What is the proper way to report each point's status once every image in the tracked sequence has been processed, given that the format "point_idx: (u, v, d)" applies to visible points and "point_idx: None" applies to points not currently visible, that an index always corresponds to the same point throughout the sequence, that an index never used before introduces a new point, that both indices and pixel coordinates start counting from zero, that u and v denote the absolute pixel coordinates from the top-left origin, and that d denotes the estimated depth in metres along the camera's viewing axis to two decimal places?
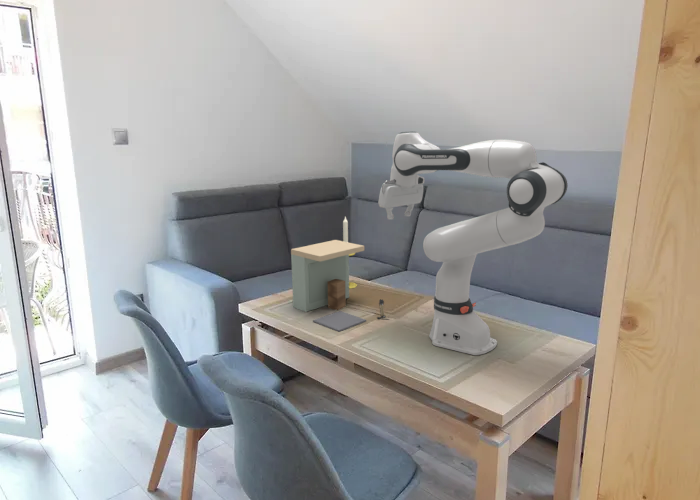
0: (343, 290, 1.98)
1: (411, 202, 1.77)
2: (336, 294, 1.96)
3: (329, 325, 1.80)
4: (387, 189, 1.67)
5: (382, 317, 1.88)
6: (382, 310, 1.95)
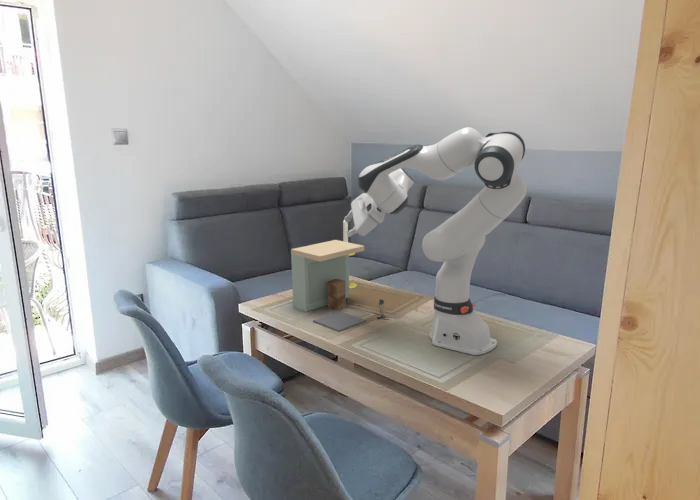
0: (343, 290, 1.98)
1: (355, 221, 1.76)
2: (336, 294, 1.96)
3: (329, 325, 1.80)
4: None
5: (382, 317, 1.88)
6: (382, 310, 1.95)
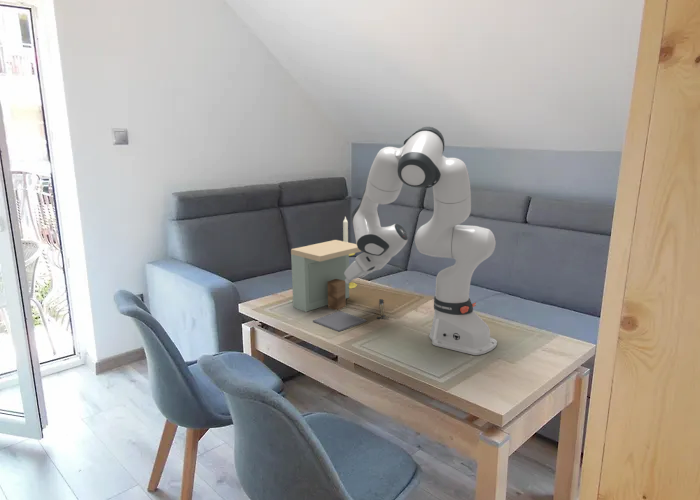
0: (343, 290, 1.98)
1: None
2: (336, 294, 1.96)
3: (329, 325, 1.80)
4: None
5: (382, 317, 1.89)
6: (382, 310, 1.95)
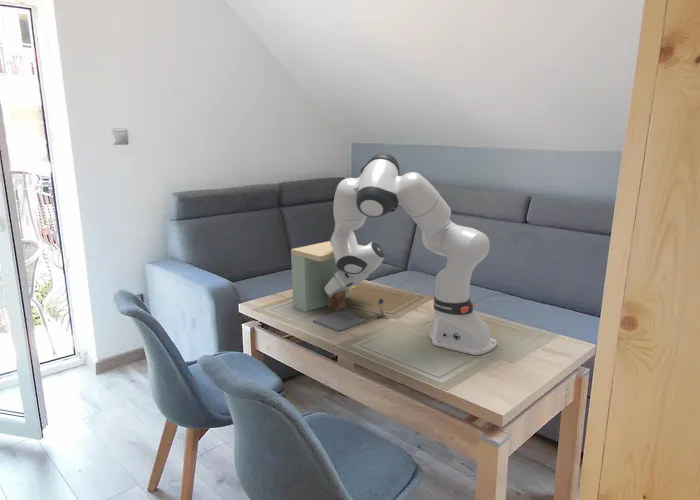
0: (343, 290, 1.98)
1: None
2: (336, 294, 1.96)
3: (329, 325, 1.80)
4: None
5: (382, 316, 1.89)
6: (382, 309, 1.96)
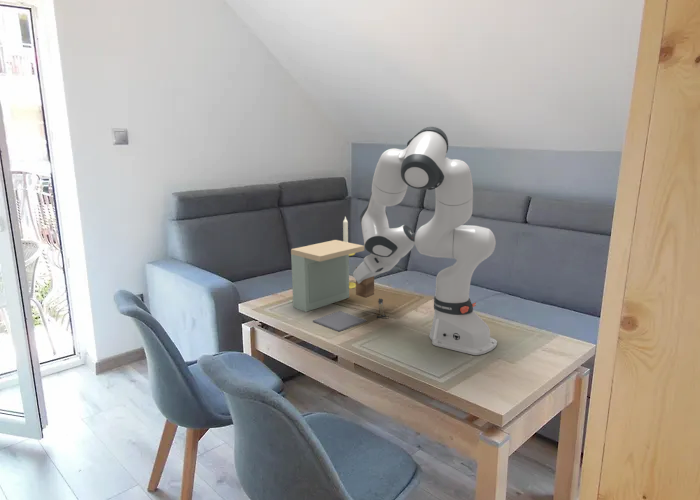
0: (372, 277, 1.89)
1: None
2: (365, 280, 1.87)
3: (329, 325, 1.80)
4: None
5: (382, 316, 1.89)
6: (381, 309, 1.96)
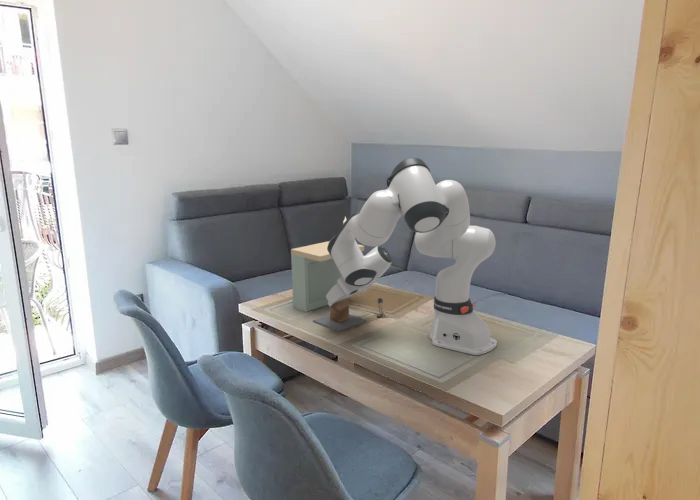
0: (346, 301, 1.83)
1: None
2: (339, 306, 1.80)
3: (329, 325, 1.80)
4: None
5: (381, 316, 1.90)
6: (381, 309, 1.97)
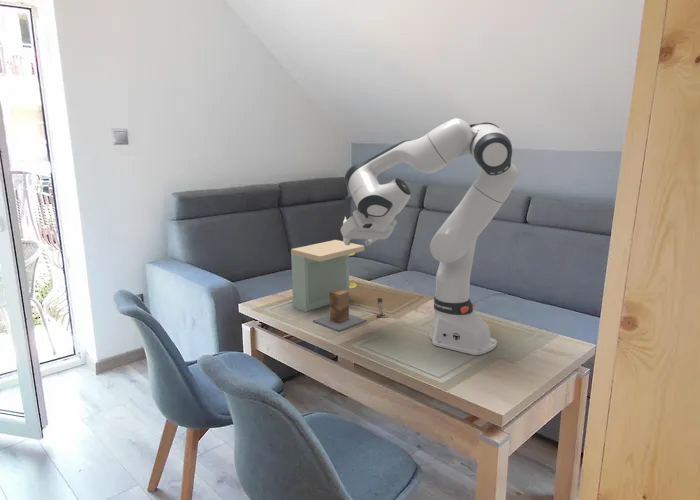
0: (346, 301, 1.83)
1: None
2: (339, 306, 1.80)
3: (329, 325, 1.80)
4: None
5: (381, 315, 1.90)
6: (381, 308, 1.97)
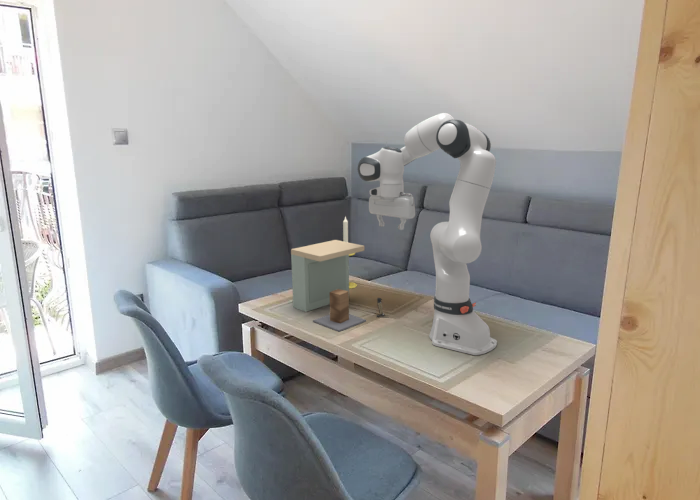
0: (346, 301, 1.83)
1: None
2: (339, 306, 1.80)
3: (329, 325, 1.80)
4: None
5: (381, 315, 1.90)
6: (381, 308, 1.97)
